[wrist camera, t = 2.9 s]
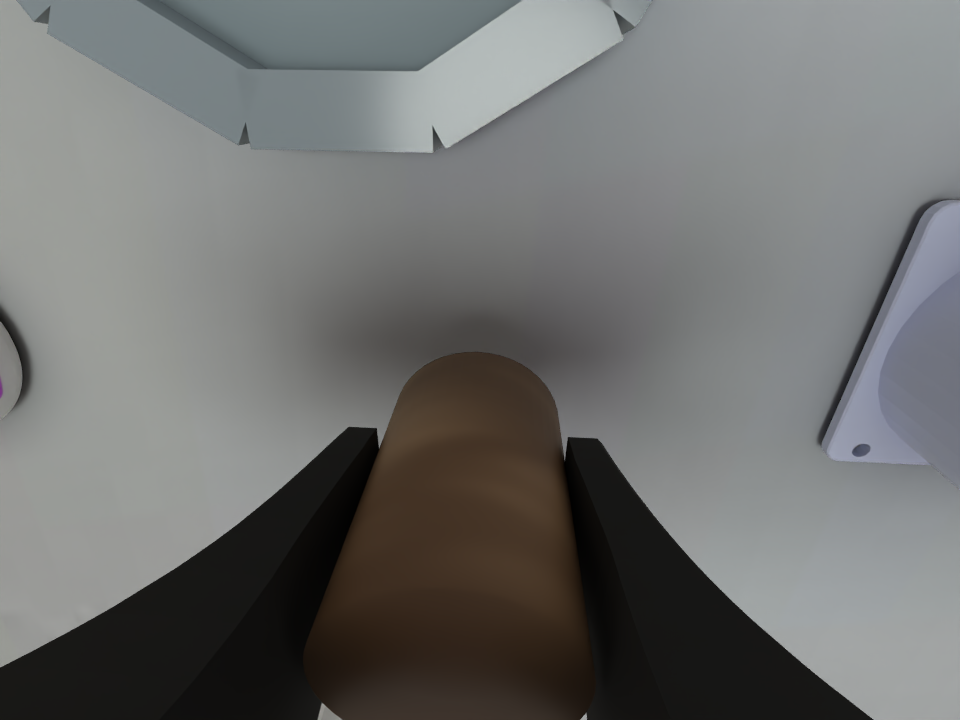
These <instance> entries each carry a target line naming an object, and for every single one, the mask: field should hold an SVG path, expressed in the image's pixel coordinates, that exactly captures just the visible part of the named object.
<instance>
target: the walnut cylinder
mask: <svg viewBox="0 0 960 720" xmlns="http://www.w3.org/2000/svg"><path fill="white" fill-rule="evenodd" d="M303 666H304V672H305V675H306V678H307V680H308V683H309V685H310V687H311V688H312V690H313V691H314V693H315V695H316V696H317V697H318V698H319V699H320V700H321V702H322V703H323V704H324V705H325V706H326V707H327V708H328V709H330V710H331V711H332V712H333V713H334V714H335V715H337V716H338V717H340V718H341V719H342V720H580V719H581V718H582V717H583V716H584V715H585V713H586V712H587V710H588V709H589V707H590V705H591V703H592V701H593V698H594V695H595V689H596V678H595V670H594V663H593V656H592V649H591V642H590V635H589V628H588V621H587V614H586V607H585V600H584V593H583V586H582V579H581V572H580V565H579V558H578V551H577V544H576V537H575V530H574V523H573V516H572V509H571V502H570V495H569V488H568V481H567V474H566V467H565V460H564V453H563V446H562V439H561V432H560V425H559V418H558V411H557V407H556V404H555V401H554V399H553V397H552V395H551V393H550V391H549V390H548V388H547V387H546V385H545V384H544V383H543V382H542V381H541V379H540V378H539V377H538V376H537V375H535V374H534V373H533V372H532V371H531V370H529V369H528V368H526V367H525V366H523V365H522V364H520V363H518V362H516V361H513V360H511V359H509V358H506V357H503V356H500V355H495V354H491V353H483V352H464V353H456V354H452V355H448V356H444V357H441V358H439V359H436V360H434V361H432V362H430V363H429V364H427V365H425V366H424V367H422V368H421V369H420V370H418V371H417V372H416V373H415V374H414V375H413V376H412V377H411V378H410V379H409V380H408V382H407V383H406V384H405V386H404V387H403V389H402V391H401V393H400V395H399V398H398V401H397V403H396V406H395V409H394V411H393V414H392V417H391V419H390V422H389V425H388V427H387V430H386V433H385V435H384V438H383V440H382V443H381V446H380V448H379V451H378V454H377V456H376V459H375V462H374V464H373V467H372V470H371V472H370V475H369V478H368V480H367V483H366V486H365V488H364V491H363V493H362V496H361V499H360V501H359V504H358V507H357V509H356V512H355V515H354V517H353V520H352V523H351V525H350V528H349V531H348V533H347V536H346V539H345V541H344V544H343V546H342V549H341V552H340V554H339V557H338V560H337V562H336V565H335V568H334V570H333V573H332V576H331V578H330V581H329V584H328V586H327V589H326V591H325V594H324V597H323V599H322V602H321V605H320V607H319V610H318V613H317V615H316V618H315V621H314V623H313V626H312V629H311V631H310V634H309V637H308V639H307V642H306V645H305V649H304V653H303Z"/></svg>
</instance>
